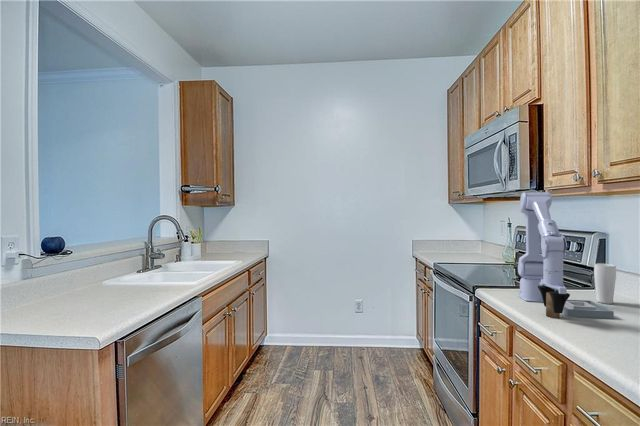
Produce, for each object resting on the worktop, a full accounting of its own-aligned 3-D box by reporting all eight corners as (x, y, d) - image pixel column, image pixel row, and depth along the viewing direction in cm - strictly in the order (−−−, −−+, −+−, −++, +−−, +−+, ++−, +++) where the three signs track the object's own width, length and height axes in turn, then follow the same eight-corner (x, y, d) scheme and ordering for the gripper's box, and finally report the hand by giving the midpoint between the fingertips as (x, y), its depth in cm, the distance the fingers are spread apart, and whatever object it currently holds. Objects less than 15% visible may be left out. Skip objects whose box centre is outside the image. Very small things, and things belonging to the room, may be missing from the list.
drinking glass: (589, 301, 140) (590, 264, 140) (600, 299, 143) (601, 262, 143) (608, 305, 134) (609, 266, 134) (619, 303, 137) (620, 265, 136)
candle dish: (549, 305, 135) (549, 298, 135) (590, 307, 132) (590, 299, 132) (567, 316, 121) (567, 308, 121) (613, 318, 119) (613, 310, 119)
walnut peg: (543, 314, 124) (544, 292, 124) (556, 315, 123) (556, 292, 123) (549, 318, 120) (549, 294, 120) (562, 318, 119) (562, 295, 119)
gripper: (532, 266, 129) (531, 303, 129) (549, 274, 115) (549, 315, 115) (553, 267, 128) (553, 304, 128) (573, 274, 113) (573, 316, 114)
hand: (552, 309), depth 121 cm, fingers open, 7 cm apart
